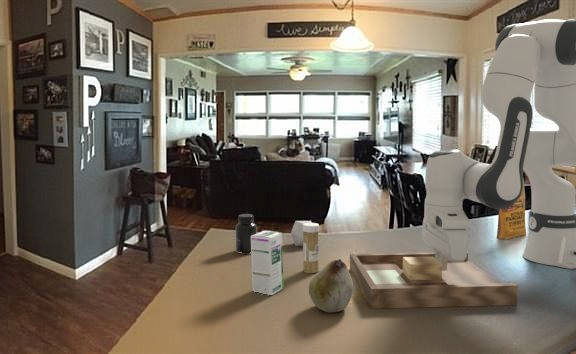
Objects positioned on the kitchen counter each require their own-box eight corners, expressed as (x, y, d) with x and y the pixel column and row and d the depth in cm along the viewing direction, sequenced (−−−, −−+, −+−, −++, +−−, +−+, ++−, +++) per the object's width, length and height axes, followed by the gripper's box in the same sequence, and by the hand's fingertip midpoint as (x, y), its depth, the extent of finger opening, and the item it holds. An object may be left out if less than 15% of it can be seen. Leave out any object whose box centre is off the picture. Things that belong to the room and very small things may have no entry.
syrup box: (271, 296, 108) (271, 237, 106) (251, 292, 111) (250, 234, 109) (283, 288, 113) (283, 232, 111) (263, 285, 116) (262, 229, 114)
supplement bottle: (231, 253, 144) (231, 216, 143) (242, 247, 150) (241, 212, 149) (251, 255, 142) (250, 218, 140) (260, 249, 148) (260, 213, 147)
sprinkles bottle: (316, 274, 123) (316, 226, 122) (300, 273, 125) (300, 225, 123) (320, 269, 127) (320, 222, 126) (305, 268, 129) (304, 221, 127)
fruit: (339, 322, 93) (340, 266, 92) (300, 312, 98) (300, 259, 97) (359, 305, 102) (359, 253, 101) (322, 297, 107) (322, 247, 106)
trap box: (465, 267, 128) (465, 251, 128) (516, 304, 101) (517, 285, 101) (349, 269, 127) (349, 254, 126) (371, 308, 100) (371, 289, 100)
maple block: (432, 271, 117) (433, 256, 117) (441, 279, 111) (442, 263, 111) (402, 272, 117) (402, 257, 116) (409, 280, 111) (410, 264, 110)
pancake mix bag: (485, 237, 161) (488, 159, 158) (515, 230, 171) (519, 156, 168) (502, 241, 156) (506, 160, 152) (533, 233, 166) (537, 157, 163)
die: (308, 251, 148) (323, 225, 150) (284, 237, 149) (299, 212, 151) (306, 254, 156) (321, 229, 158) (284, 240, 157) (299, 216, 159)
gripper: (416, 207, 122) (415, 257, 124) (446, 223, 102) (444, 283, 103) (439, 207, 122) (438, 256, 124) (473, 223, 102) (471, 282, 104)
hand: (441, 268), depth 114 cm, fingers closed, pressing on maple block
